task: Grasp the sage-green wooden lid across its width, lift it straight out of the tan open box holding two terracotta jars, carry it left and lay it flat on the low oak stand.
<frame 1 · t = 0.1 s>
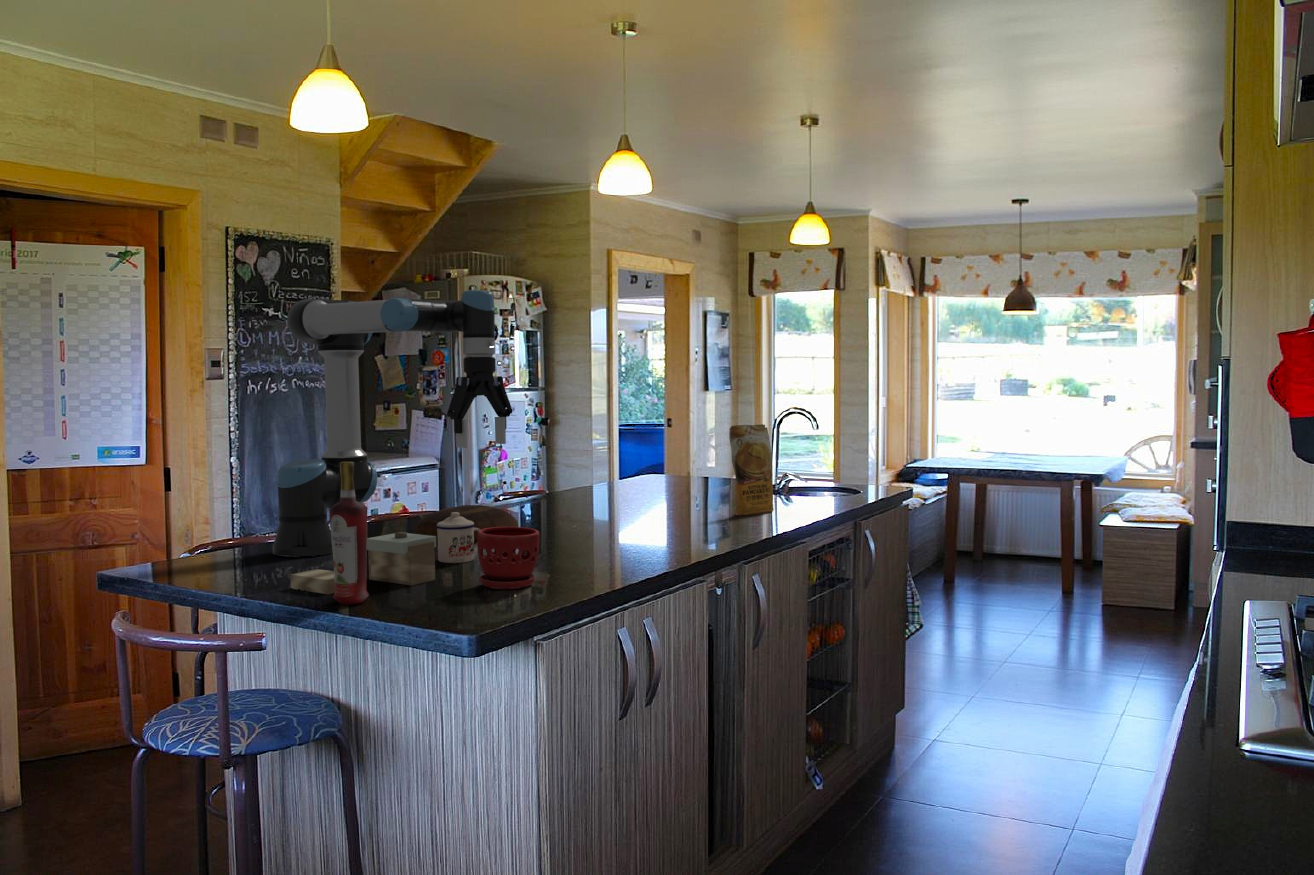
hand: (481, 445, 249), 28 cm above the counter, fingers open, 13 cm apart
tan open box: (402, 579, 231), on the counter
pancake mix bag: (752, 513, 330), on the counter
plant pot: (509, 586, 223), on the counter
stand: (322, 588, 222), on the counter
bread: (468, 537, 291), on the counter
liquor: (351, 603, 208), on the counter
lid: (401, 548, 230), point 7 cm above the counter, touching tan open box
teacup with lid: (461, 560, 255), on the counter
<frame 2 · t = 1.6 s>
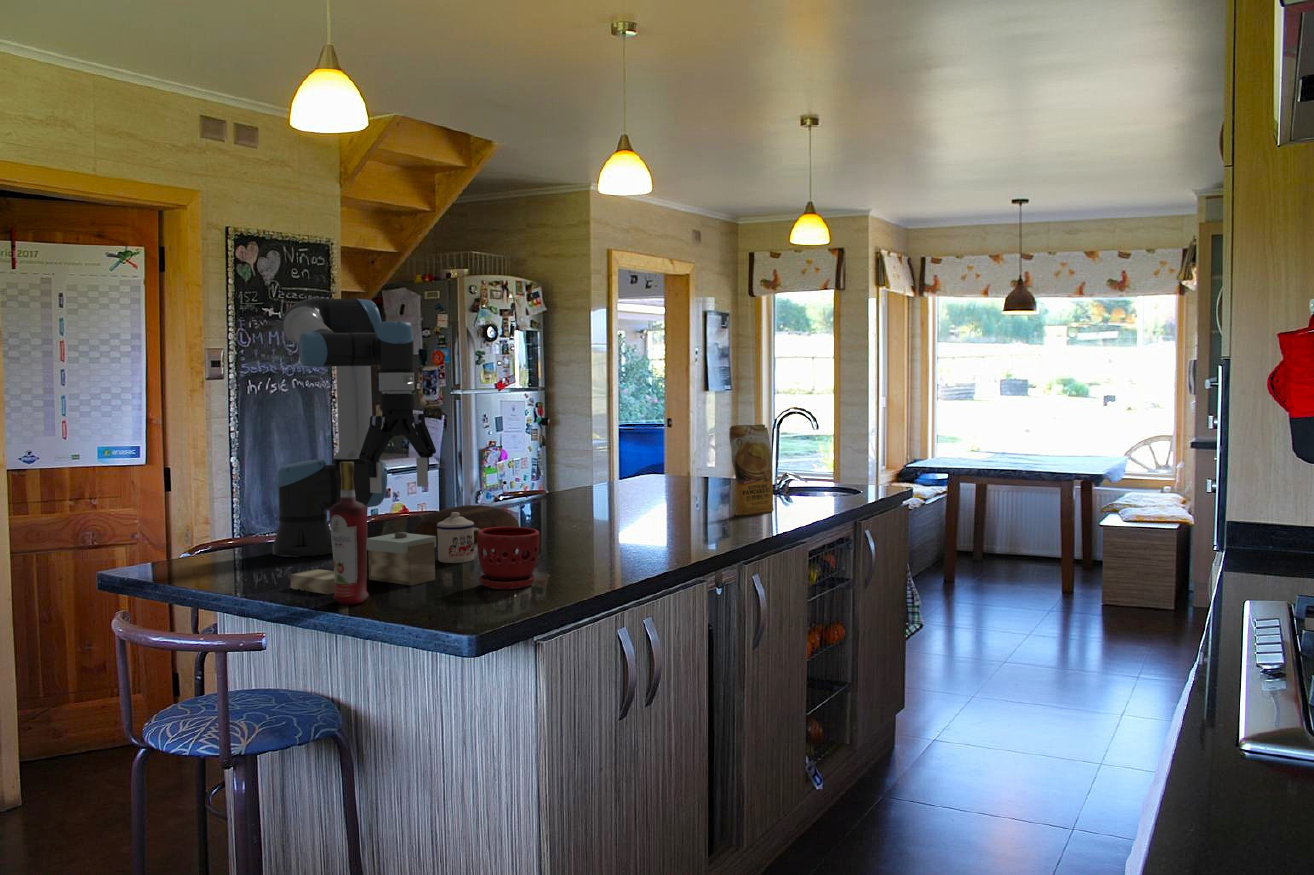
hand: (399, 489, 229), 20 cm above the counter, fingers open, 13 cm apart
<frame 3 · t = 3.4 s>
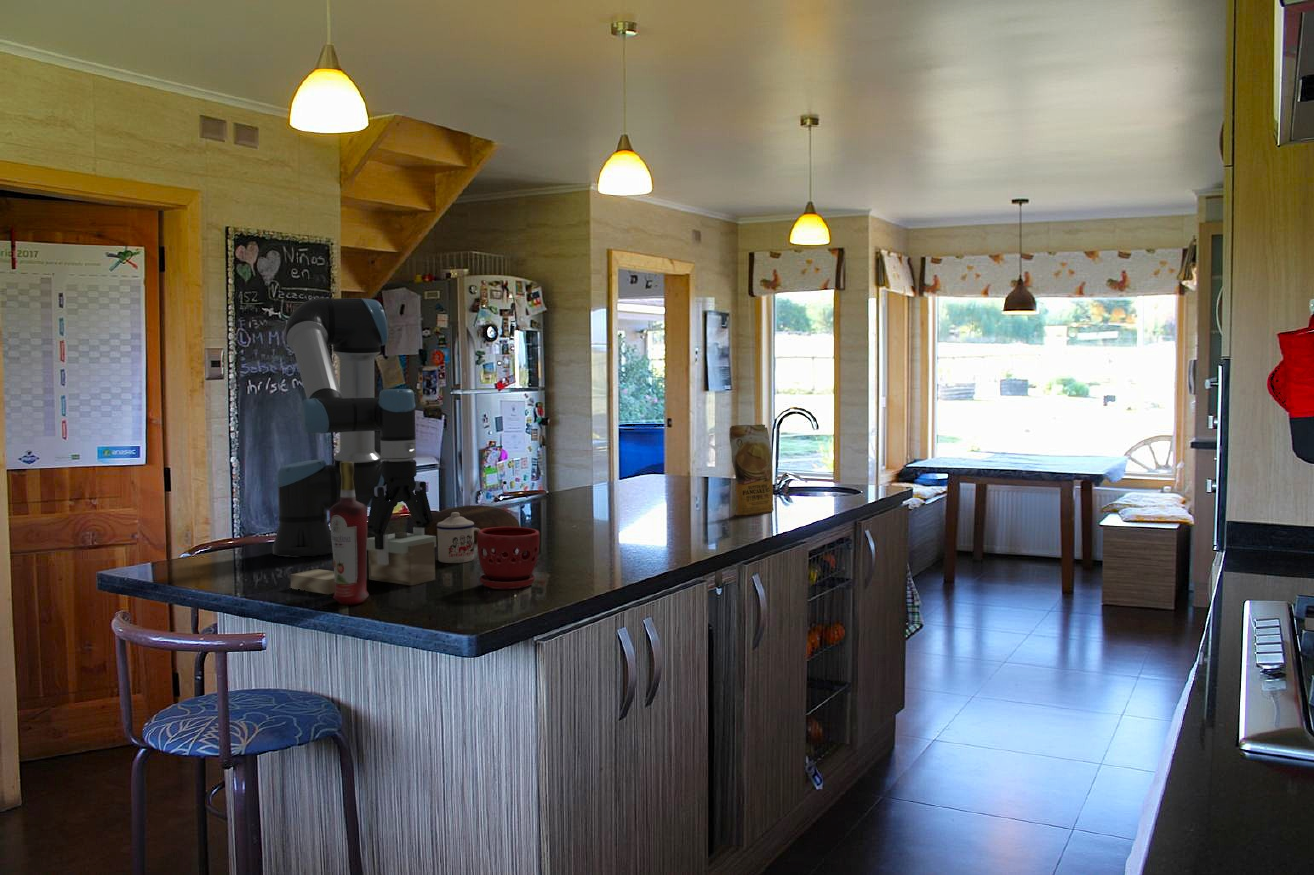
hand: (401, 560, 230), 4 cm above the counter, fingers closed on lid, 10 cm apart
lid: (401, 548, 230), point 7 cm above the counter, touching tan open box, gripper
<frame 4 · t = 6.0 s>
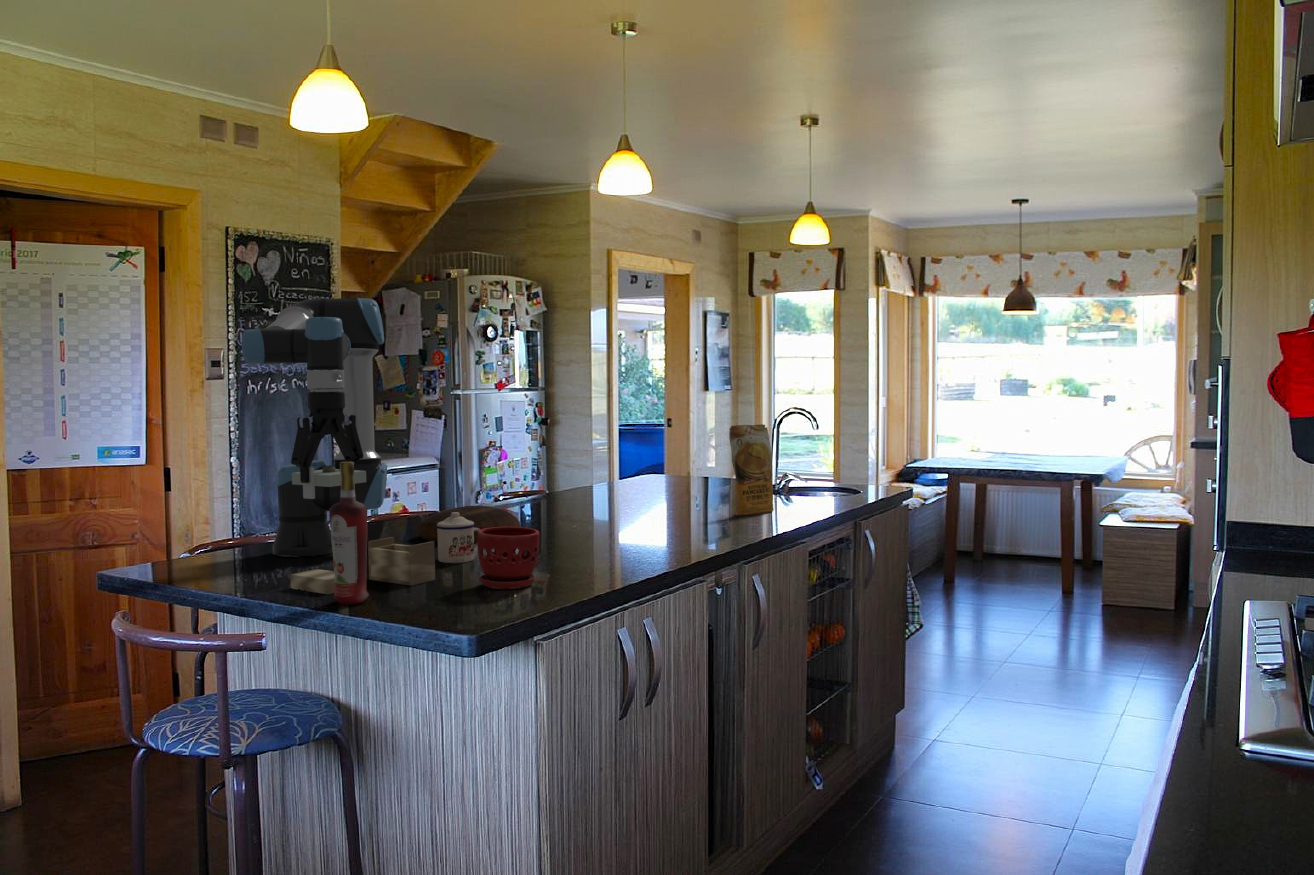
hand: (329, 495, 222), 20 cm above the counter, fingers closed on lid, 10 cm apart
lid: (329, 483, 222), point 22 cm above the counter, touching gripper
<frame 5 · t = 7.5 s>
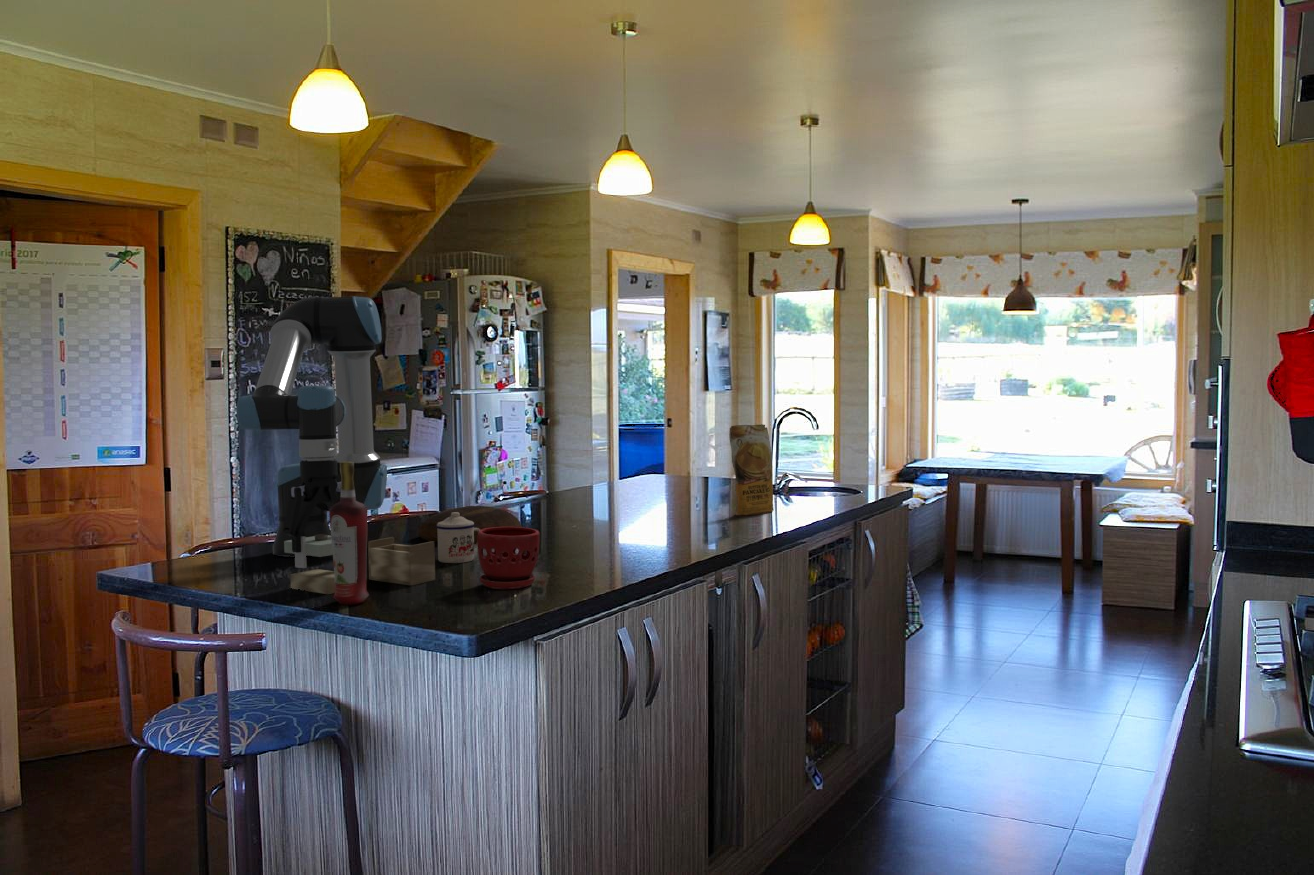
hand: (321, 563, 222), 5 cm above the counter, fingers closed on lid, 10 cm apart
lid: (321, 551, 222), point 8 cm above the counter, touching gripper
when the fingers open (2 cm above the counter, at t = 8.8 s): lid drops 1 cm, resting on stand.
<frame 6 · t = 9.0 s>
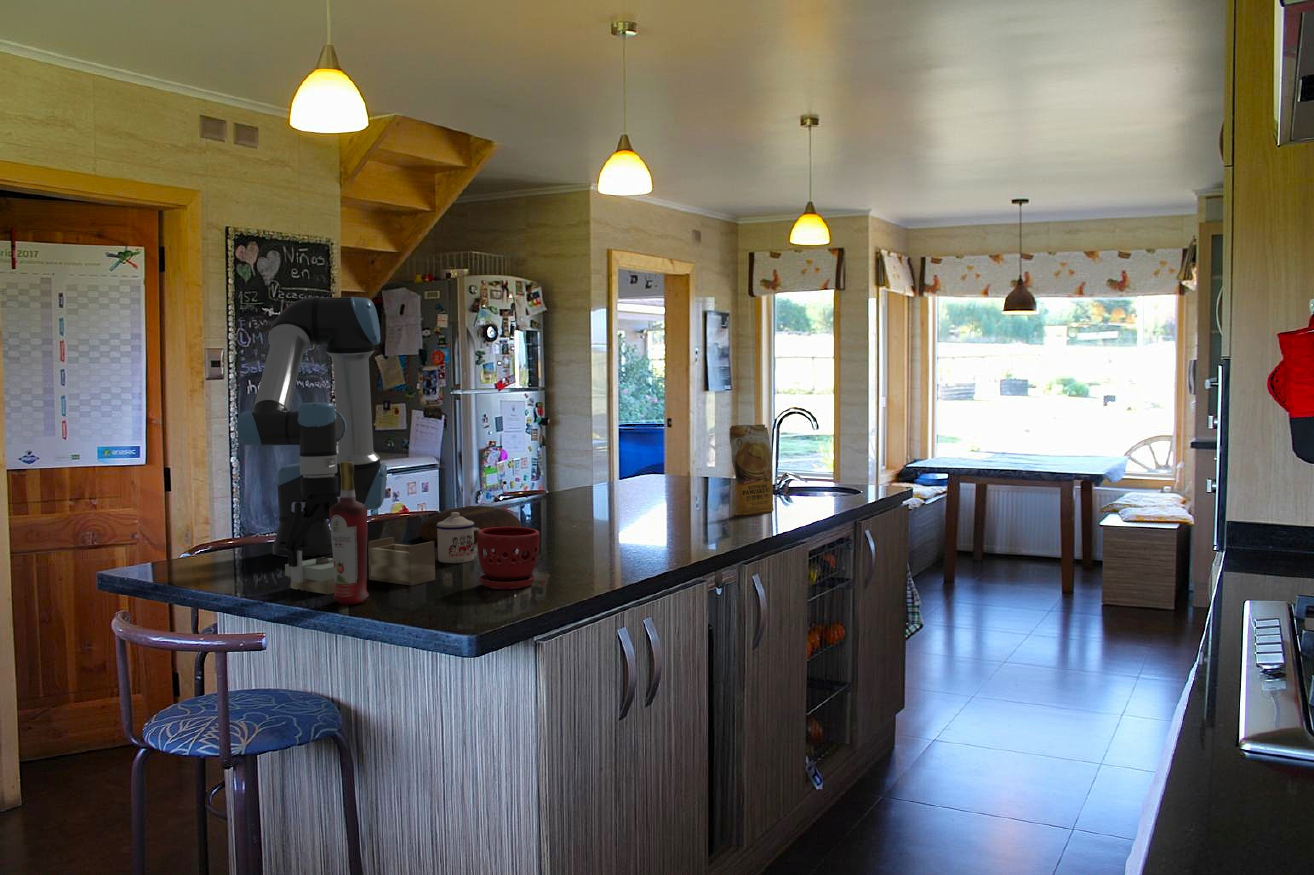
hand: (322, 576, 222), 3 cm above the counter, fingers open, 12 cm apart
lid: (322, 574, 222), point 3 cm above the counter, touching stand
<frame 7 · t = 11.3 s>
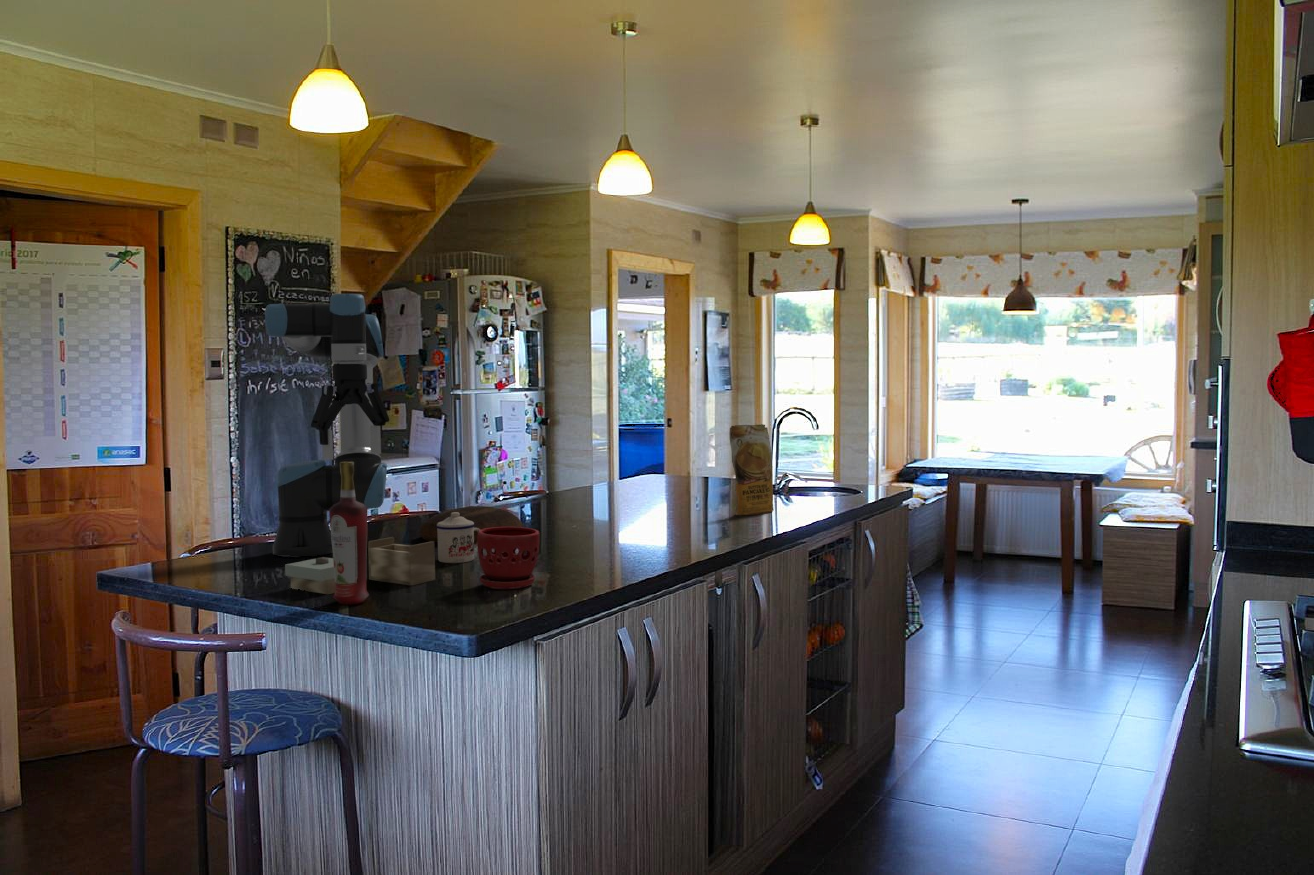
hand: (352, 456, 238), 27 cm above the counter, fingers open, 13 cm apart
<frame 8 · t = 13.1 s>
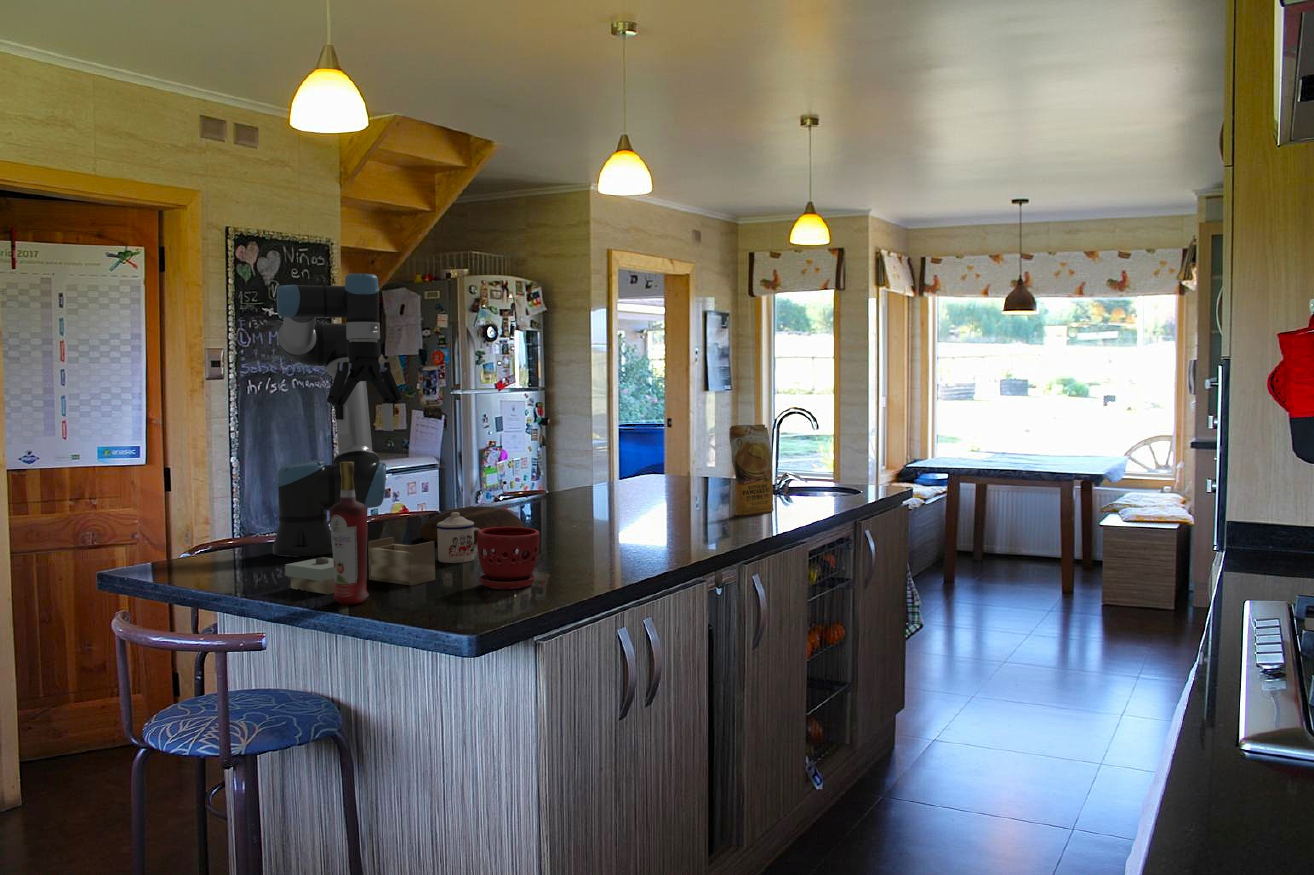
hand: (366, 432, 244), 32 cm above the counter, fingers open, 13 cm apart
at the end: lid inside the target area on the stand (0.0 cm from its centre), point 3.0 cm above the stand's base; lid tilted 0°; the gripper is holding nothing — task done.
